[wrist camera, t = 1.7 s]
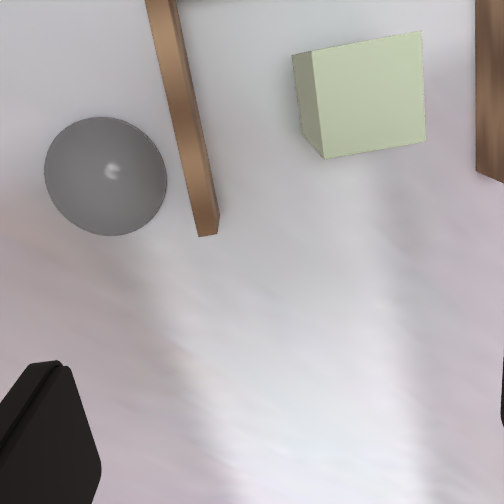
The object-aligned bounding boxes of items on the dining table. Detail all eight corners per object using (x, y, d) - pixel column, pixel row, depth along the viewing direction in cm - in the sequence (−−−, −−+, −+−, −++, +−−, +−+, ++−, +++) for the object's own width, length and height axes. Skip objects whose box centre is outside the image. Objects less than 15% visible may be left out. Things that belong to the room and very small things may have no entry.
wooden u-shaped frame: (149, -24, 28) (136, -37, 25) (496, -92, 28) (536, -116, 24) (203, 218, 34) (198, 237, 30) (493, 167, 33) (525, 180, 29)
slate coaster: (31, 128, 31) (27, 129, 31) (150, 106, 31) (148, 107, 31) (68, 241, 34) (65, 244, 34) (178, 222, 34) (177, 225, 33)
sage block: (291, 55, 30) (311, 51, 22) (370, 40, 30) (421, 30, 22) (302, 134, 32) (324, 159, 24) (377, 121, 32) (425, 141, 23)
